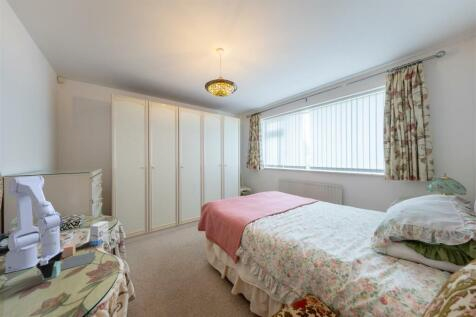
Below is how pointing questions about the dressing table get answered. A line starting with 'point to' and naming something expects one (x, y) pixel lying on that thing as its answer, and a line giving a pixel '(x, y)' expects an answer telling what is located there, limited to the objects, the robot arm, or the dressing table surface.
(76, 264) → the mat
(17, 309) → the dressing table surface
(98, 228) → the ink box
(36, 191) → the robot arm
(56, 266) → the teal brick
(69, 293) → the dressing table surface
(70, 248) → the peach block
